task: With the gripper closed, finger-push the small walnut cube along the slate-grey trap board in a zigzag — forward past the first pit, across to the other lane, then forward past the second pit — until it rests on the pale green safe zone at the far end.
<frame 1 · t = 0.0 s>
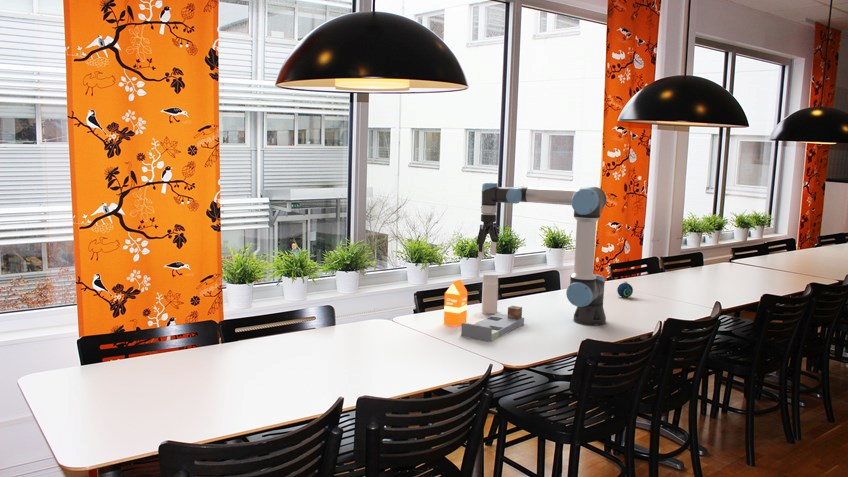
hand: (487, 256, 328), 28 cm above the table, tool pointing down, fingers open, 13 cm apart
milk carton: (489, 312, 331), on the table
orange juice: (455, 323, 310), on the table
walnut cube: (514, 317, 309), point 3 cm above the table, touching trap board
trap board: (494, 329, 299), on the table
christmas ornament: (624, 298, 373), on the table
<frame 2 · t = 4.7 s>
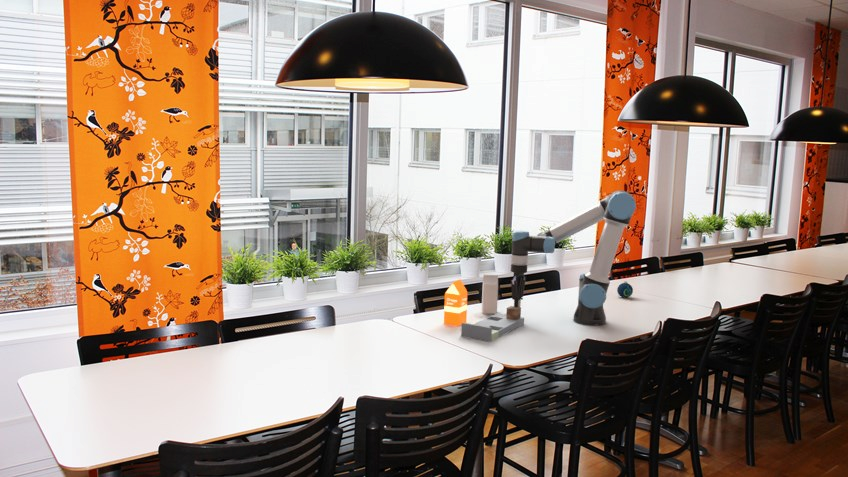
hand: (516, 313, 312), 5 cm above the table, tool pointing down, fingers closed
walnut cube: (513, 318, 309), point 3 cm above the table, touching gripper, trap board
everything else where it was.
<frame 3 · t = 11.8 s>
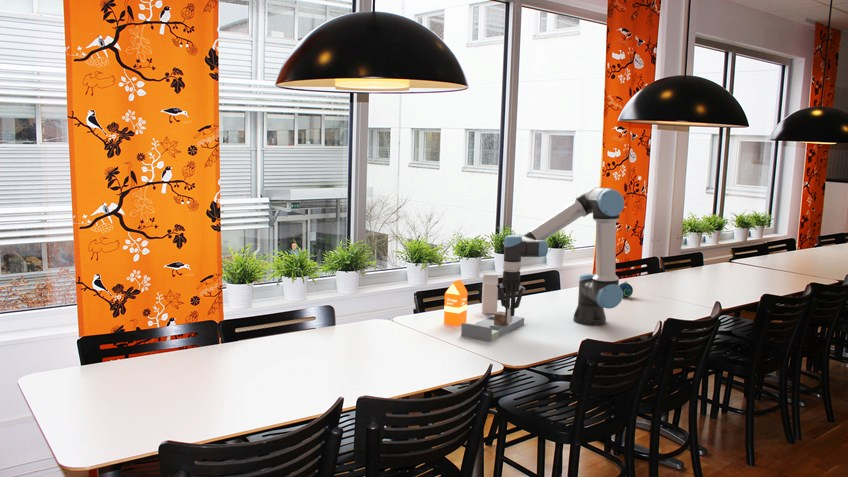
hand: (509, 322, 295), 5 cm above the table, tool pointing down, fingers closed
walnut cube: (501, 324, 298), point 3 cm above the table, touching gripper
everything else where it was.
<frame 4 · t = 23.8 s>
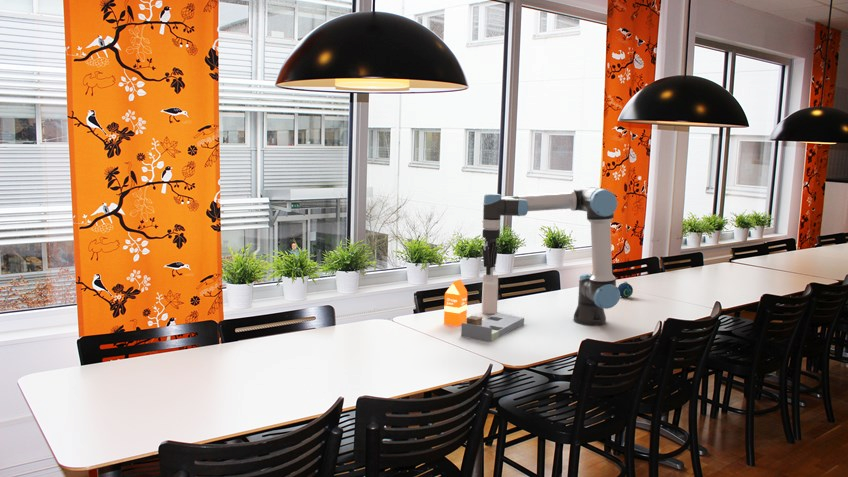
hand: (489, 281, 295), 22 cm above the table, tool pointing down, fingers closed
walnut cube: (473, 328, 289), point 3 cm above the table, touching trap board
everything else where it was.
at the end: walnut cube inside the target area on the trap board (3.2 cm from its centre), point 3.0 cm above the trap board's base; walnut cube tilted 0° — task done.
